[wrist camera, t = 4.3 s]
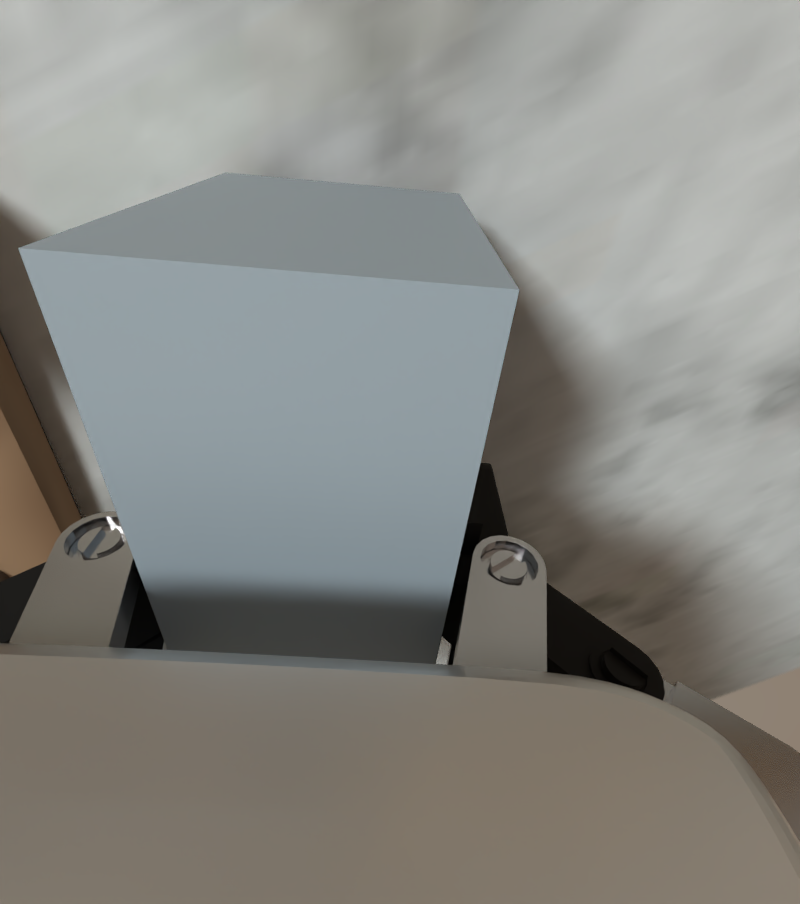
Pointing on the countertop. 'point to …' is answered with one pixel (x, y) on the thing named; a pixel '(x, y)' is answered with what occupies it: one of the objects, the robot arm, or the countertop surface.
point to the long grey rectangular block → (285, 403)
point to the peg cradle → (27, 481)
